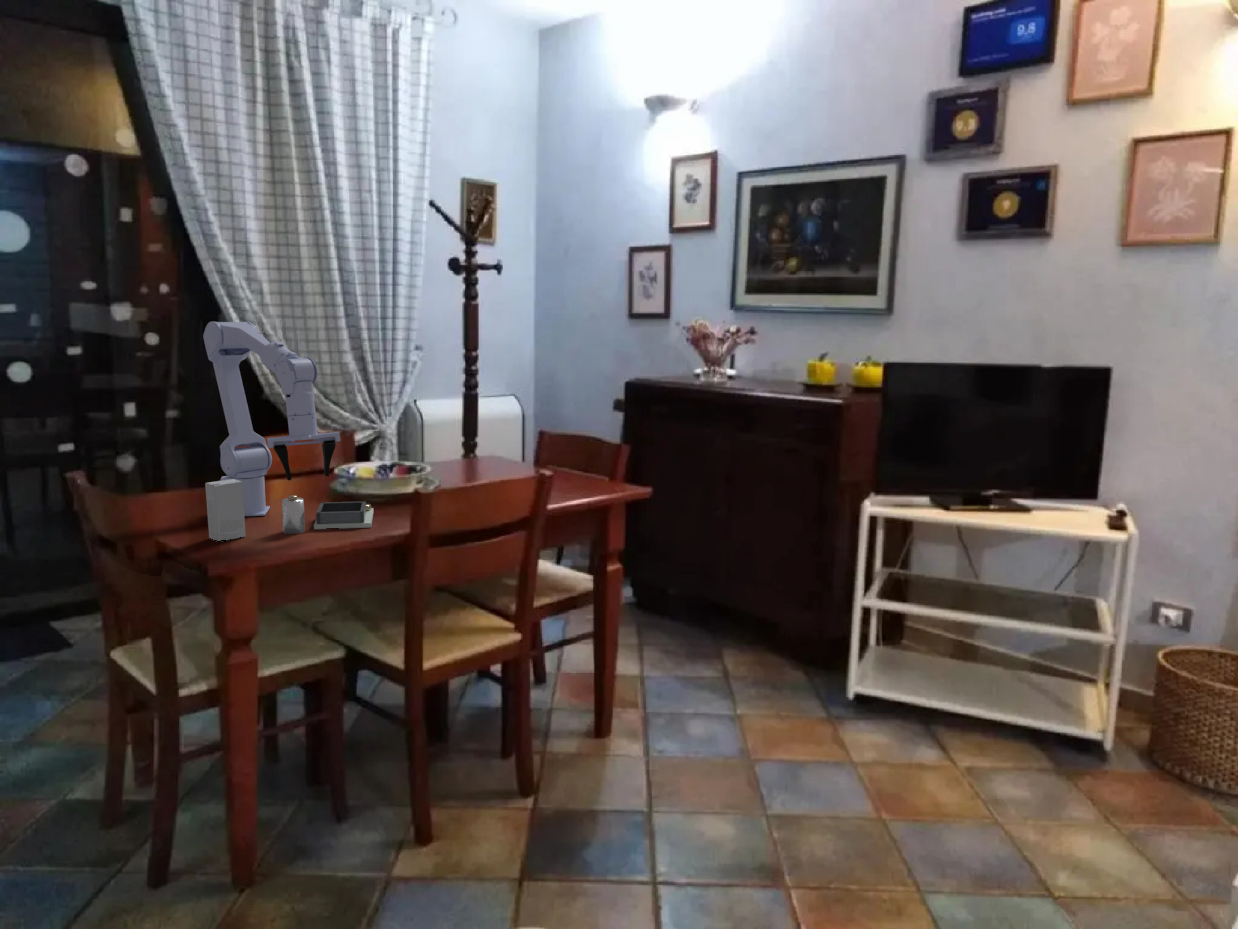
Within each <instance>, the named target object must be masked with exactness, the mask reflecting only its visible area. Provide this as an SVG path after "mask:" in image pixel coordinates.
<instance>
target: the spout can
mask: <svg viewBox="0 0 1238 929" xmlns="http://www.w3.org/2000/svg"><path fill="white" fill-rule="evenodd" d="M304 502H305V500H304V498H302V497H298V495H295V494H291V495H288V497H286V498H282V499H281V511H282V515H281V516H282V532H283V533H284V534H285V535H298V534H302V533H304V532H305V531H306V524H305V503H304Z"/></svg>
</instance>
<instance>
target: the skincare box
mask: <svg viewBox="0 0 1238 929" xmlns="http://www.w3.org/2000/svg"><path fill="white" fill-rule="evenodd" d="M204 486H205V496H206V497H205V498H206V499H205V500H206V509H207V510H206V511H207V512H206V513H207V514H206V515H207V525H208V538H209V539H210V538H211V539H210V540H212V539H213V540H212V541H214V540H217V541H221V540H226V541H230V539H231V540H235V539H239V538H240V537H241V538H245V537H246V534H247V533H246V522H245V519H246V518H245V516H244V502H243V488H242V481H239V480H235V479H229V480H222V481H220V480H217V481H211V482H210V481H209V482H205V485H204ZM217 541H216V542H217ZM221 542H222V541H221Z"/></svg>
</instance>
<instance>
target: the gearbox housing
mask: <svg viewBox="0 0 1238 929" xmlns="http://www.w3.org/2000/svg"><path fill="white" fill-rule="evenodd" d="M315 515H316V518H315V522H314V523H313V530H327V529H326V528H339V529H358V528H359V529H360V528H363V529H364V528H372V524H373V518H374V507H372V504H370V503H367V501H341V502H340V501H335V502H333V501H332V502H330V501H329V502H328V501H327V502H320V503H319V505H318V508H317V510H316V512H315Z"/></svg>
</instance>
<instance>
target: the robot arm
mask: <svg viewBox="0 0 1238 929" xmlns="http://www.w3.org/2000/svg"><path fill="white" fill-rule="evenodd" d="M202 337H203V341H204V346H205V351H206V354H207V358H208V360H209V361H210V362H212V365H213V370H214V374H215V379H216V382H217V386H218V391H219V395H220V400H221V405H222V410H223V414H224V417H225V421H226V425H227V431H228V434H229V435H228V436H227V437H226V438H225V439H224V441H223V442H222V443H221V444H220V445H219V451H220V459H219V461H220V467H221V469H222V471H223V472H224V474H225V476H222V475H221V478H220V480H219V481H222V480H229V479H235V480H239V481H242V488H243V502H244V517H260V516H261V517H262V516H263V517H264V516H266V514H268V511H269V510H270V507H271V506H270V505H266V487H265V483H266V482H265V475H267V474H268V471H269V469H270V468H271V466H272V462H273V457H272V453H271V451H270V448H273V450H274V452H275V453H276V455H277V457H278V458H279V460H280V462H281V465H282V467H283V469H284V472H285V475H286V479H287V481H292V474H291V469H290V465H289V464H290V463H289V462H290V461H289V453H288V452H289V450H288V447H289V446H299V445H300V446H301V445H311V444H321V447H322V448H321V449H322V455H323V472H324V473H323V474H324V476H325V477H329V476H330V467H331V461H332V459H333V458H332V457H333V454H334V452H335V448H336V446H337V444H336V443H337V442H341V434H340V432H339V431H335V432H321V433H319V432H318V422H317V414H316V404H315V394H314V383H316V380H317V378H318V367H317V365H316V363H315V361H314V360H313V359H312V358H311V357H310V356H304V357H299V356H298V355H297V353H296V352H294V351H291V350H290V349H288V348H286V347H285V344H284V343H283V342H281V341H276V342H270V341H269V340H268V339H267V338H265V336H263V335H262V334H261V333H259V330H258V327H257V325H255V324H253V323H252V322H251V321H248V320H247V321H209V322H208V323H207V324H206V326H205V328H204V332H203V336H202ZM251 352H253V353H254V354H256V355H258V356H259V359H260V362H261V364H263V365H264V366H265V367H266V368H268V369H269V370H271V371H272V372H273V373H275V374H276V377H277V378H276V379H277V380H278V382H279V384H280V387H281V392H282V394H283V395H284V397H285V398H284V399H285V406H286V407H285V408H286V415H287V425H288V435H286V436H277V437H267V442H266V439H265V438H264V437H263V436H261V435H260V434H258V433H256V432H255V431H254V428H253V424H252V419H251V415H250V410H249V406H248V402H247V397H246V393H245V389H244V385H243V380H242V375H241V371H240V364H241V362H242V361H244V360H246V359H247V358H248V356H249V355H250V354H251ZM308 440H311V441H308ZM296 441H299V442H296Z"/></svg>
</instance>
